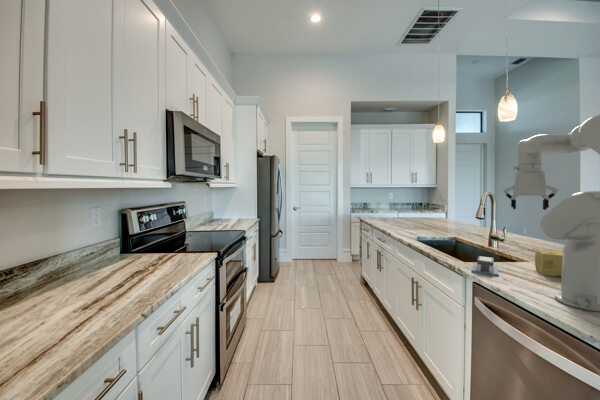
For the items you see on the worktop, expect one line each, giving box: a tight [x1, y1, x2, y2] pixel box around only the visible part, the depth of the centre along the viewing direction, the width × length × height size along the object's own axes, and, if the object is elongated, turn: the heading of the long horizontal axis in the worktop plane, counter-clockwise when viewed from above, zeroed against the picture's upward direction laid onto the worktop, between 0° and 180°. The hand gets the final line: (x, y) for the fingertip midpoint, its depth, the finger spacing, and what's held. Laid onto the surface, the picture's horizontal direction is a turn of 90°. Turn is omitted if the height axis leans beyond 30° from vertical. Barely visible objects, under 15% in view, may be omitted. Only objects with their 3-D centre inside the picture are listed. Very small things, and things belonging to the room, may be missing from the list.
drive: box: [476, 255, 495, 272], centre depth 123 cm, size 10×6×5 cm, turn 142°
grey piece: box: [471, 262, 500, 277], centre depth 123 cm, size 14×10×4 cm
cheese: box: [534, 249, 563, 278], centre depth 118 cm, size 10×11×10 cm
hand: (529, 209), depth 109 cm, fingers open, 9 cm apart
